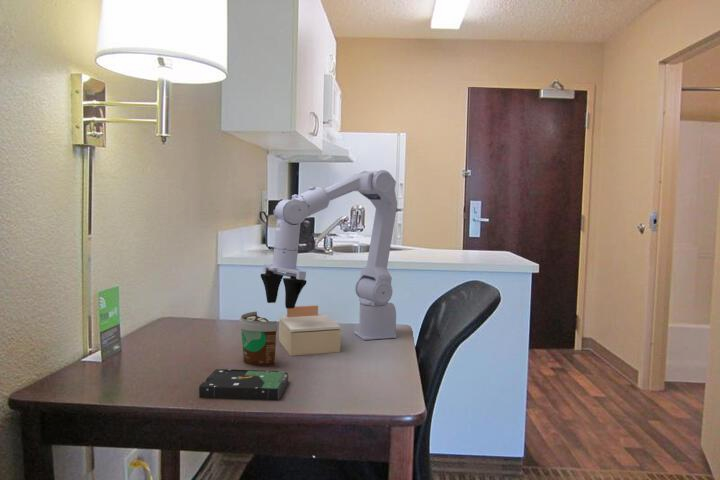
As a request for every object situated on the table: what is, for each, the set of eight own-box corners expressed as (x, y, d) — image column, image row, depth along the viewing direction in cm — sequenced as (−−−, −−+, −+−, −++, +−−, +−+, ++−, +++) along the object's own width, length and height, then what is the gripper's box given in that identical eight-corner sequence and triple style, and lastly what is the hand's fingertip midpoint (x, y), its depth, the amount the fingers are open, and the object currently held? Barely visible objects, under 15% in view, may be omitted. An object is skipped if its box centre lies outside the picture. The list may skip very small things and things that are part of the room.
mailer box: (323, 337, 141) (324, 317, 141) (340, 351, 128) (340, 330, 128) (278, 340, 137) (279, 320, 137) (290, 355, 124) (291, 333, 124)
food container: (230, 356, 123) (230, 313, 122) (255, 352, 126) (255, 310, 125) (250, 371, 112) (250, 324, 112) (277, 367, 116) (277, 321, 115)
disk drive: (198, 401, 97) (279, 402, 97) (198, 386, 97) (279, 387, 97) (215, 382, 107) (288, 383, 107) (214, 368, 107) (288, 369, 107)
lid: (324, 316, 141) (324, 304, 141) (340, 328, 128) (340, 316, 128) (279, 319, 137) (279, 307, 137) (291, 332, 124) (291, 318, 124)
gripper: (255, 245, 131) (249, 300, 132) (290, 251, 121) (284, 311, 121) (278, 247, 136) (273, 299, 137) (314, 253, 126) (309, 310, 126)
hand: (280, 305), depth 129 cm, fingers open, 7 cm apart
